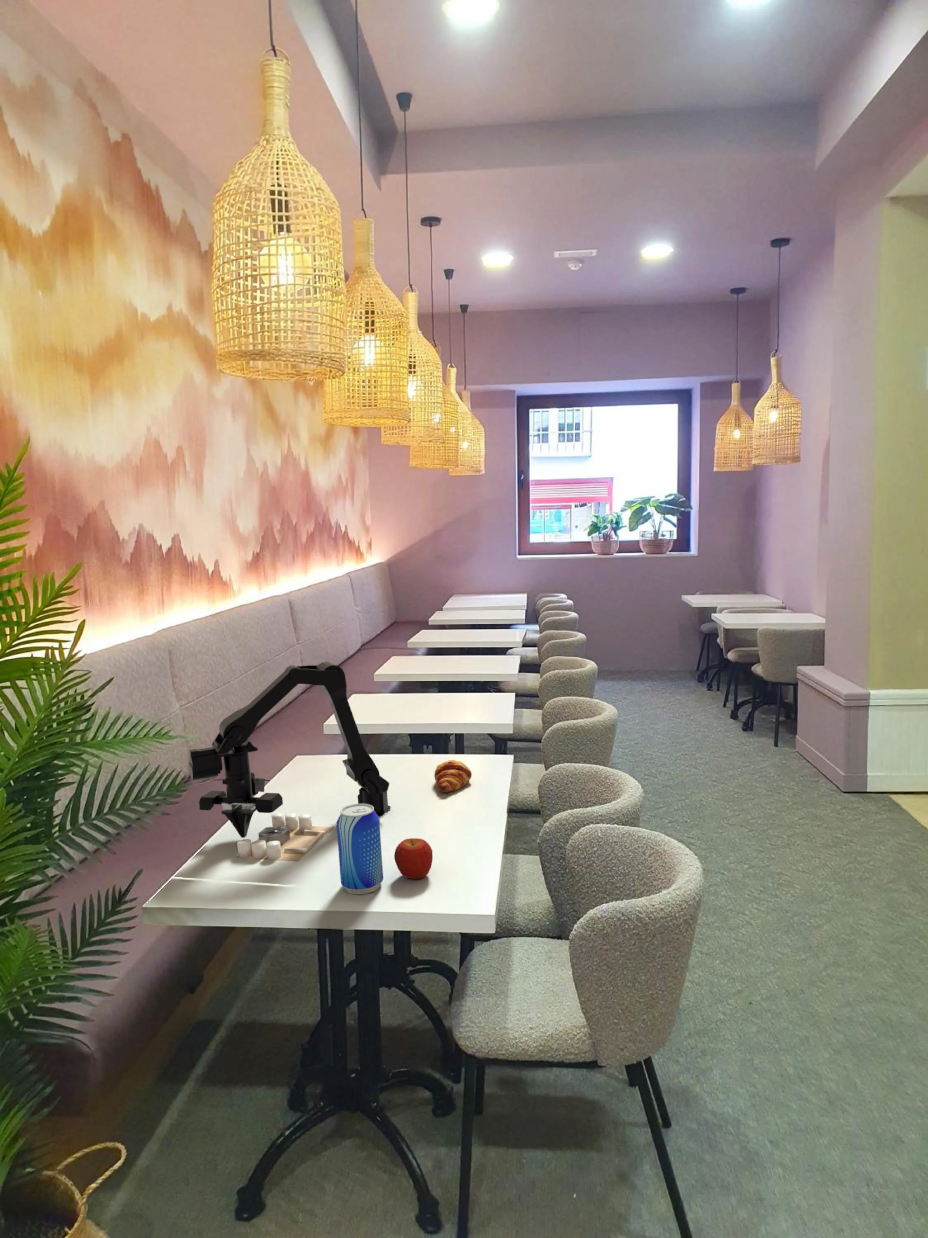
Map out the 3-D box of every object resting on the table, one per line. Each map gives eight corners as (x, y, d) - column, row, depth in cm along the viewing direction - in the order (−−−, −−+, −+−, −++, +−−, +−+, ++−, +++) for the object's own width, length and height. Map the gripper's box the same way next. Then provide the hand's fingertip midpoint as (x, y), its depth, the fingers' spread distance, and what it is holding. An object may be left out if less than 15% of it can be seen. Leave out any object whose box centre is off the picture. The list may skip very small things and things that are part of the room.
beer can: (365, 899, 158) (360, 820, 156) (332, 890, 162) (326, 813, 160) (392, 882, 165) (387, 805, 163) (359, 874, 169) (354, 799, 167)
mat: (333, 829, 194) (333, 824, 194) (298, 863, 176) (298, 857, 176) (276, 826, 198) (275, 821, 198) (235, 859, 180) (235, 853, 180)
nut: (293, 835, 191) (292, 825, 190) (279, 848, 184) (278, 837, 184) (269, 834, 192) (269, 824, 192) (255, 846, 185) (254, 836, 185)
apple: (403, 888, 162) (400, 850, 161) (390, 872, 169) (388, 836, 168) (439, 879, 165) (437, 842, 164) (425, 864, 172) (423, 829, 171)
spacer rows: (314, 826, 196) (313, 814, 195) (277, 860, 177) (276, 846, 177) (276, 824, 198) (275, 812, 198) (235, 857, 180) (234, 844, 180)
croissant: (451, 782, 234) (437, 758, 234) (481, 766, 232) (467, 742, 232) (435, 808, 214) (420, 781, 214) (468, 791, 212) (452, 764, 211)
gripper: (290, 762, 193) (296, 825, 195) (220, 760, 198) (226, 822, 200) (268, 777, 183) (274, 844, 185) (194, 775, 187) (200, 840, 189)
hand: (243, 837), depth 190 cm, fingers closed
